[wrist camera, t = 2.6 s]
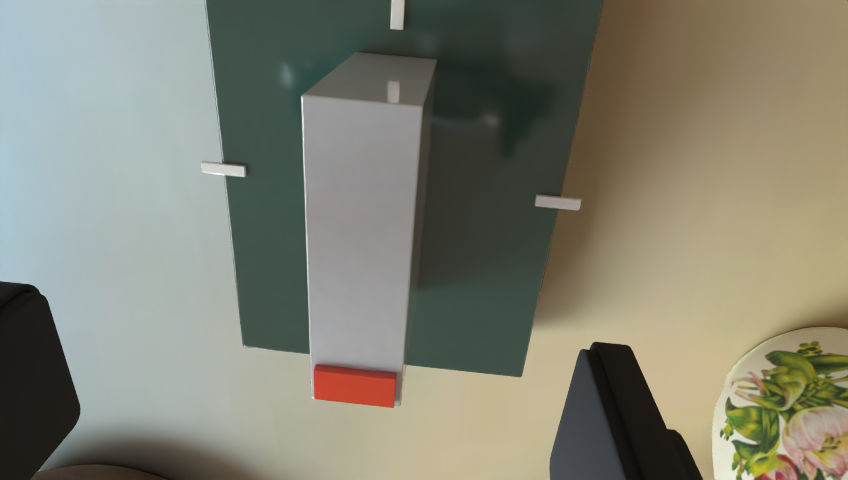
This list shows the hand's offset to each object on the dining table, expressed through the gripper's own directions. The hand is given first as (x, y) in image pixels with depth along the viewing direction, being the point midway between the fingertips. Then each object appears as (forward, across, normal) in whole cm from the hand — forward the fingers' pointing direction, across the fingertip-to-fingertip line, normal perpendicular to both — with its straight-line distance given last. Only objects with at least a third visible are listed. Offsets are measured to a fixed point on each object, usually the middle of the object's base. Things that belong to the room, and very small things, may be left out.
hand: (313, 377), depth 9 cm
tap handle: (+9, 0, 0) cm, 9 cm away
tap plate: (+12, 0, 0) cm, 12 cm away
